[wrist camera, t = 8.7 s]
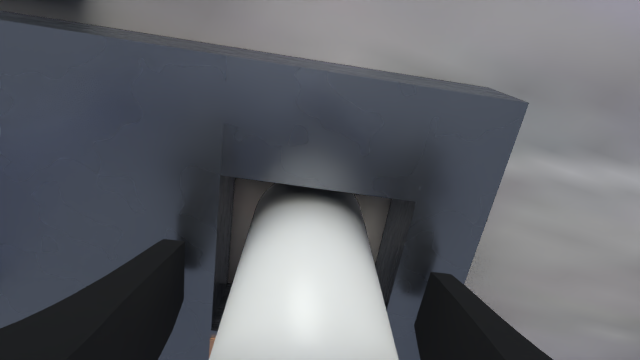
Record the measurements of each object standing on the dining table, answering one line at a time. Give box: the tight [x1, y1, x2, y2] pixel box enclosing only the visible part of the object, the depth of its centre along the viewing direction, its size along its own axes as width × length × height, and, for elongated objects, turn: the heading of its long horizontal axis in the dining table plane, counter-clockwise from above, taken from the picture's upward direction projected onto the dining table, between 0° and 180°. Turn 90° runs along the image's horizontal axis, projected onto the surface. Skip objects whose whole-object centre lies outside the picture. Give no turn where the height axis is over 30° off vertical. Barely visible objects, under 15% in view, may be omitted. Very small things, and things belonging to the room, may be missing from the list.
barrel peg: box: [209, 183, 399, 360], centre depth 11 cm, size 4×4×7 cm
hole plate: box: [0, 10, 529, 360], centre depth 13 cm, size 16×12×3 cm
